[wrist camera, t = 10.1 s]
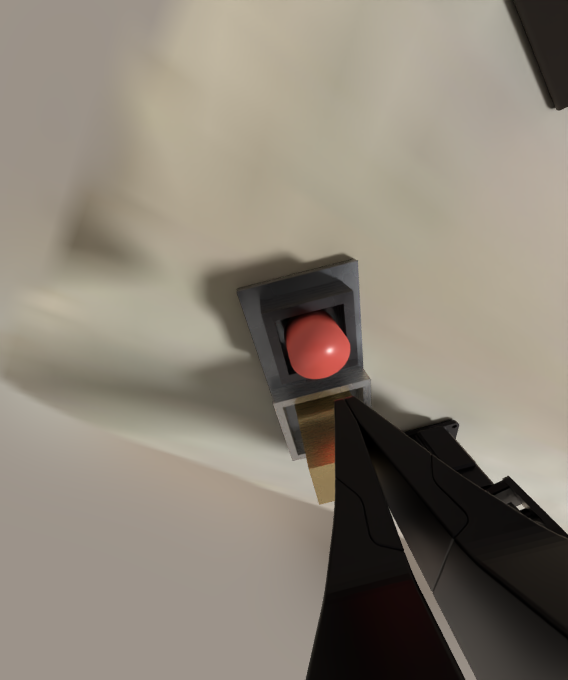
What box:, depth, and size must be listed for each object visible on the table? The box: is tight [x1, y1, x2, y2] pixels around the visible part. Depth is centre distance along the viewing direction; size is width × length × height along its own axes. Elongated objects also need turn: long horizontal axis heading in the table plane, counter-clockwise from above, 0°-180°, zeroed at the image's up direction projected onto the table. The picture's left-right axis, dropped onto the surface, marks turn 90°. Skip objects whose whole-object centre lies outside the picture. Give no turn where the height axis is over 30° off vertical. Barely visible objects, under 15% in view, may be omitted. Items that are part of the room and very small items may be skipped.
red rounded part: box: [284, 309, 350, 379], centre depth 14 cm, size 3×3×3 cm
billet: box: [294, 391, 352, 505], centre depth 18 cm, size 4×4×6 cm
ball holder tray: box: [237, 259, 371, 461], centre depth 17 cm, size 16×8×3 cm, turn 12°
